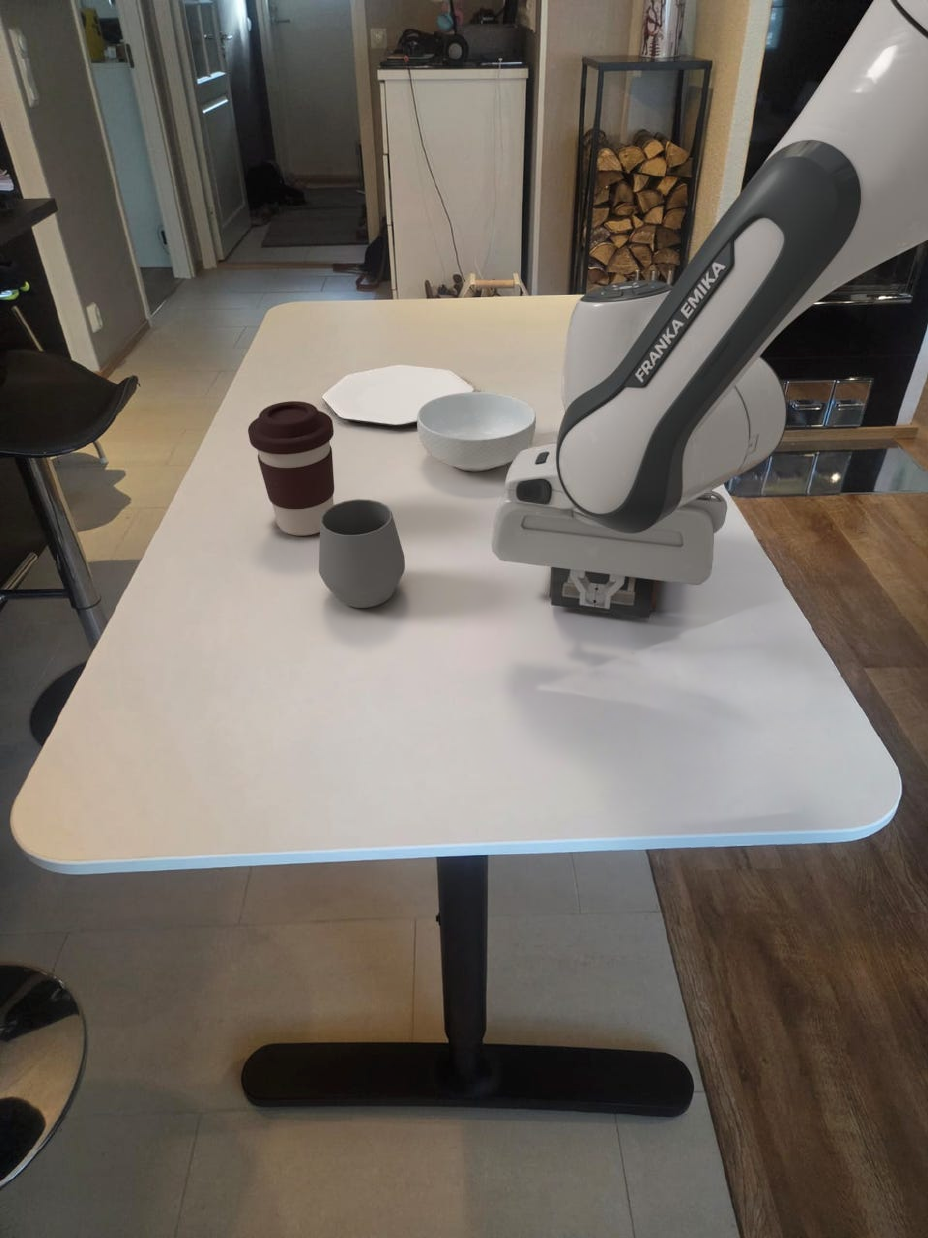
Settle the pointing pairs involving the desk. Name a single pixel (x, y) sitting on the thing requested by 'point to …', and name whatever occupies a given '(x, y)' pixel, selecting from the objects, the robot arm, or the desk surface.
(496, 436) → the cereal bowl
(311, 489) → the coffee cup
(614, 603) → the drawer
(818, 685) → the desk surface
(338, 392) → the plate
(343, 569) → the cup
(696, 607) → the desk surface
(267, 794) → the desk surface
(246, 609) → the desk surface
